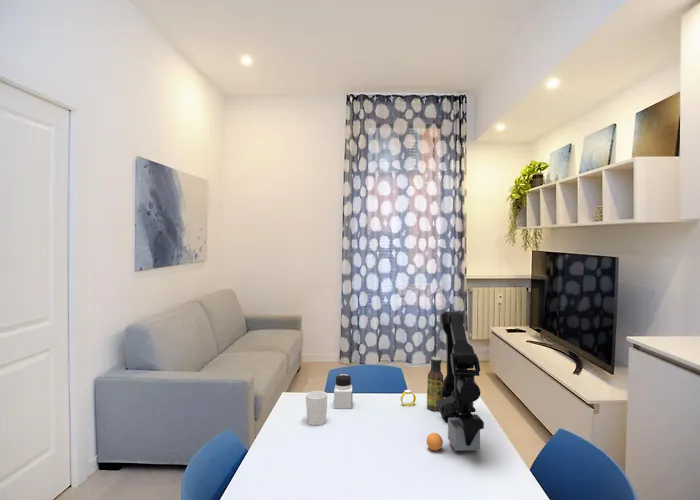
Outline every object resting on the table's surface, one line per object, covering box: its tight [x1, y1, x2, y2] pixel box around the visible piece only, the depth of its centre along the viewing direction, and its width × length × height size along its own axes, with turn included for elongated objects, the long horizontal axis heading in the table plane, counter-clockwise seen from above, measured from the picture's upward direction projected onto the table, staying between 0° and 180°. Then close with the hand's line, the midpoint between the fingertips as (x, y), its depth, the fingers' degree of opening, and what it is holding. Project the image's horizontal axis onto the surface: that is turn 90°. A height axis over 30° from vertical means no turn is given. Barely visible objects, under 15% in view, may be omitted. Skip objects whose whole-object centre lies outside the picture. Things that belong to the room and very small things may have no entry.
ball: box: [426, 432, 444, 451], centre depth 128 cm, size 5×5×5 cm
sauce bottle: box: [426, 356, 444, 412], centre depth 160 cm, size 6×6×20 cm
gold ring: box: [400, 389, 417, 407], centre depth 164 cm, size 6×3×6 cm, turn 103°
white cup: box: [305, 390, 328, 427], centre depth 148 cm, size 8×8×10 cm
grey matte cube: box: [447, 418, 481, 452], centre depth 128 cm, size 8×8×7 cm
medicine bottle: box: [333, 374, 353, 410], centre depth 164 cm, size 7×7×12 cm
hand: (463, 439), depth 128 cm, fingers closed on grey matte cube, 8 cm apart
